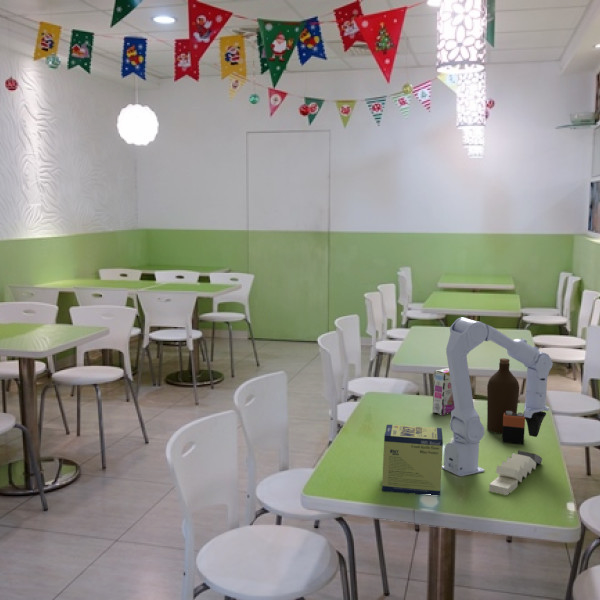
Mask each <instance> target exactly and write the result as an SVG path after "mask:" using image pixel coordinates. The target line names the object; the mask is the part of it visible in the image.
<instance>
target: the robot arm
mask: <svg viewBox="0 0 600 600" xmlns="http://www.w3.org/2000/svg"><path fill="white" fill-rule="evenodd" d="M449 332H450V334H449V338H448V341H447V344H446V349H445V350H446V351H445V352H446V358H447V360H446V361H447V365H448V367H447V368H449V373H450V380H451V387H452V393H453V400H454V407H455V409H454V410H452V411H451V413H450V415H451V417H450V421H449V428H450V430H451V432H452V434H453V436H452V437H453V439H452V440H451V441H450V442H448V443H447V444H445V446H444V455H443V456H444V457H443V465H442V470H445V471H448V472H450V473H452V474H454V475H456V476H457V477H465V476H469V475H473V474H479V473H483V472H485V468H482V467H480V466H479V453H480V452H479V451H480V449H479V447H480V443H481V442H480V441H481V440H482V439H483V438H484V435H485V427H484V425H483V424H482V422H481V418H480V415H479V414H478V412H477V410H476V409H475V406H474V398H473V391H472V384H471V379H470V371H469V363H468V357H467V356H468V354H469V353H470V352H472V351H473V350H474V349H475V348H476V347H478V346H479V345H481V344H483V342H489V341H490V342H492V343H493V344H495V345H498V346H500V347H501V348H504V349H505V350H506V351H507V355H508V356H509V357H511V358H512V359H514V360H516V361H517V362H518V363H519V362H520V364H521V363H522V364H523V365H524V367H525V368H526V369H527V370H526V385H525V386H526V387H525V403H524V406H523V407H524V410H523V412H522V413H523V415H524V417H525V423H526V426H527V430H528V435H529V437H533V438H537V437H538V435H539V433H540V428H541V426H542V423H543V421H544V419H545V417H546V416H547V412H548V411H550V406H549V407H548V406H547V405H546V404H547V401H546V400H547V387H548V386H547V385H548V377H549V373H550V371H551V369H552V367H553V365H554V362H553V361H552V358H551V356H550V355H549V354H548V353H545V352H543V351H540V350H539V347H537V346H534V347H533V345H531V344H529V343H528V340H526V339H524V338H521V339H520V338H515V339H512V338H511V337H509V336H508V335H506V334H504V333H502V332H501V331H499V330H498V329H497V328H496V327H494V326H491V325H489V324H486V323H484V322H483V321H478V320H474V319H469V318H468V317H463V316H462V317H458V318H457V319H455V320H454V322H453V323H452V324H451V326H450V327H449Z"/></svg>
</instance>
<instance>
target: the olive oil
mask: <svg viewBox="0 0 600 600" xmlns="http://www.w3.org/2000/svg"><path fill="white" fill-rule="evenodd" d="M498 365H499V367H498V368H499V369H498V370H497V371H496V372H495V373H494V374H493V375H492V376H491V377H489V379H488V382H487V384H486V385H487V386H486V387H487V389H486V390H487V393H486V397H487V398H486V399H487V400H486V401H487V403H486V405H487V408H486V409H487V415H486V416H487V419H486V421H487V422H486V426H487V427H486V429H487V430H488V431H489V432H491V433H494V434H500V435H502V432H503V415H504V413H506V411H512V413H516V414H518V406H519V405H518V404H519V398H520V397H519V396H520V384H519V383H520V382H519V380H518V379H517V378H516V376H515V375H514V374H513V373H512V372H511V370H510V359H509V358H500V359H499V363H498Z"/></svg>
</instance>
